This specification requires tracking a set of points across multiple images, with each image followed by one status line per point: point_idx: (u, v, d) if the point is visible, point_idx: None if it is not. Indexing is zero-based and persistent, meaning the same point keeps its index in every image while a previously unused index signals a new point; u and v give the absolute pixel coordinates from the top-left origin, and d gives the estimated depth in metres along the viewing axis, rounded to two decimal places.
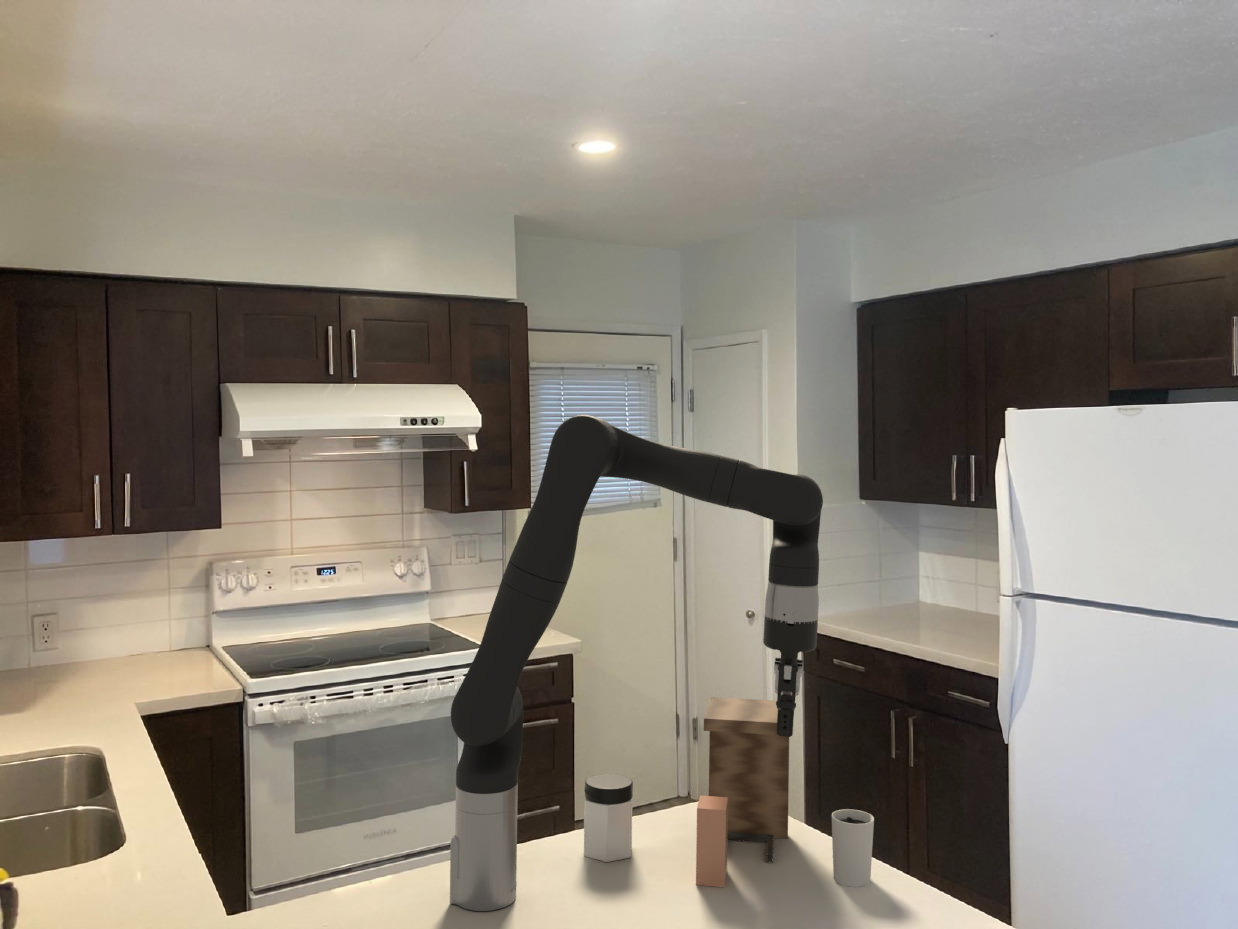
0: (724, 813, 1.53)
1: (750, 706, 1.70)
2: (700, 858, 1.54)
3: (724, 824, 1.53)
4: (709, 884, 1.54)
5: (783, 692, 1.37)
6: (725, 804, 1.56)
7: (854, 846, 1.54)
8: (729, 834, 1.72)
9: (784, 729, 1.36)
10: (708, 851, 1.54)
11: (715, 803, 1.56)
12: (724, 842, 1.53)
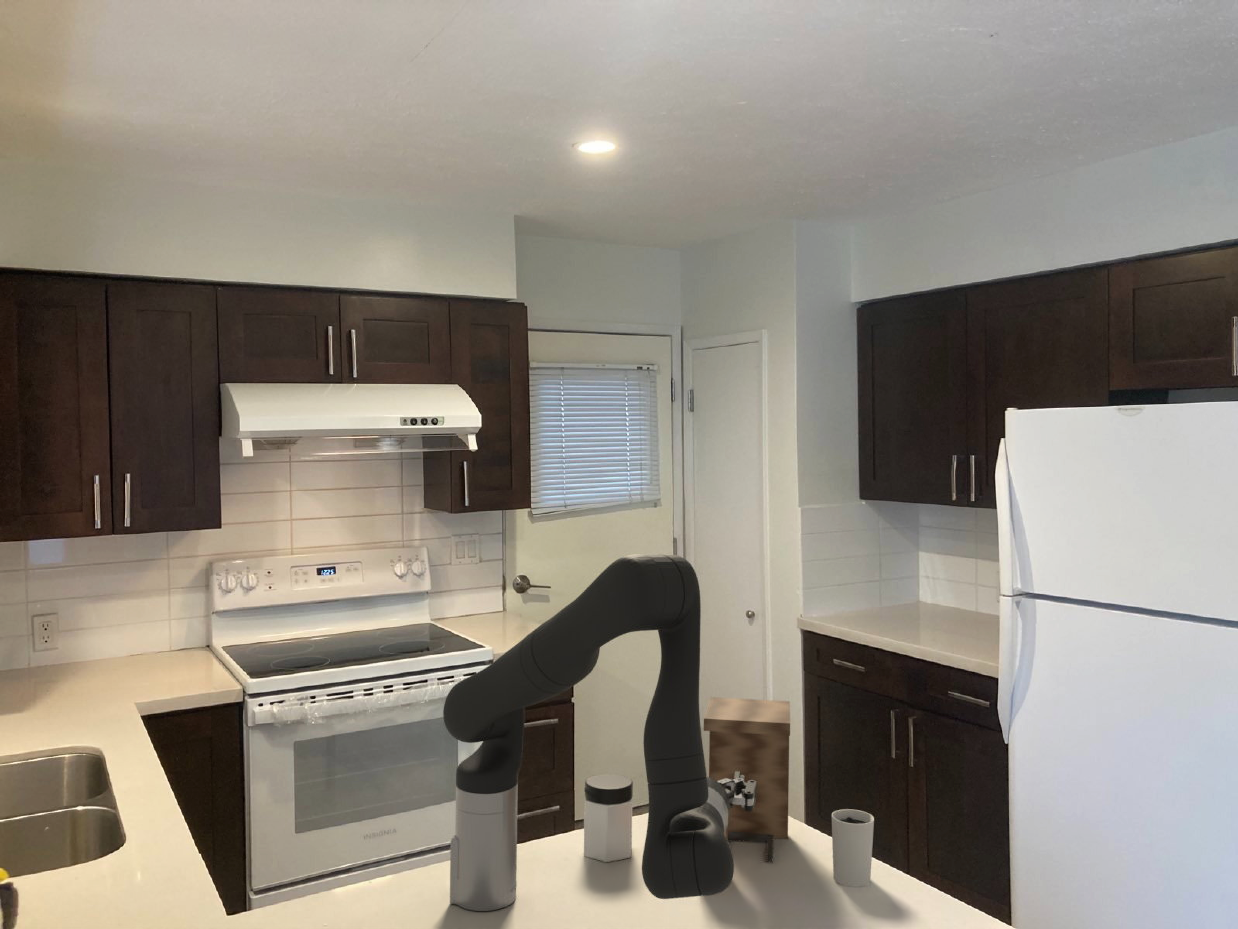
0: None
1: (750, 706, 1.70)
2: None
3: None
4: None
5: None
6: None
7: (854, 845, 1.54)
8: (729, 834, 1.72)
9: None
10: None
11: None
12: None
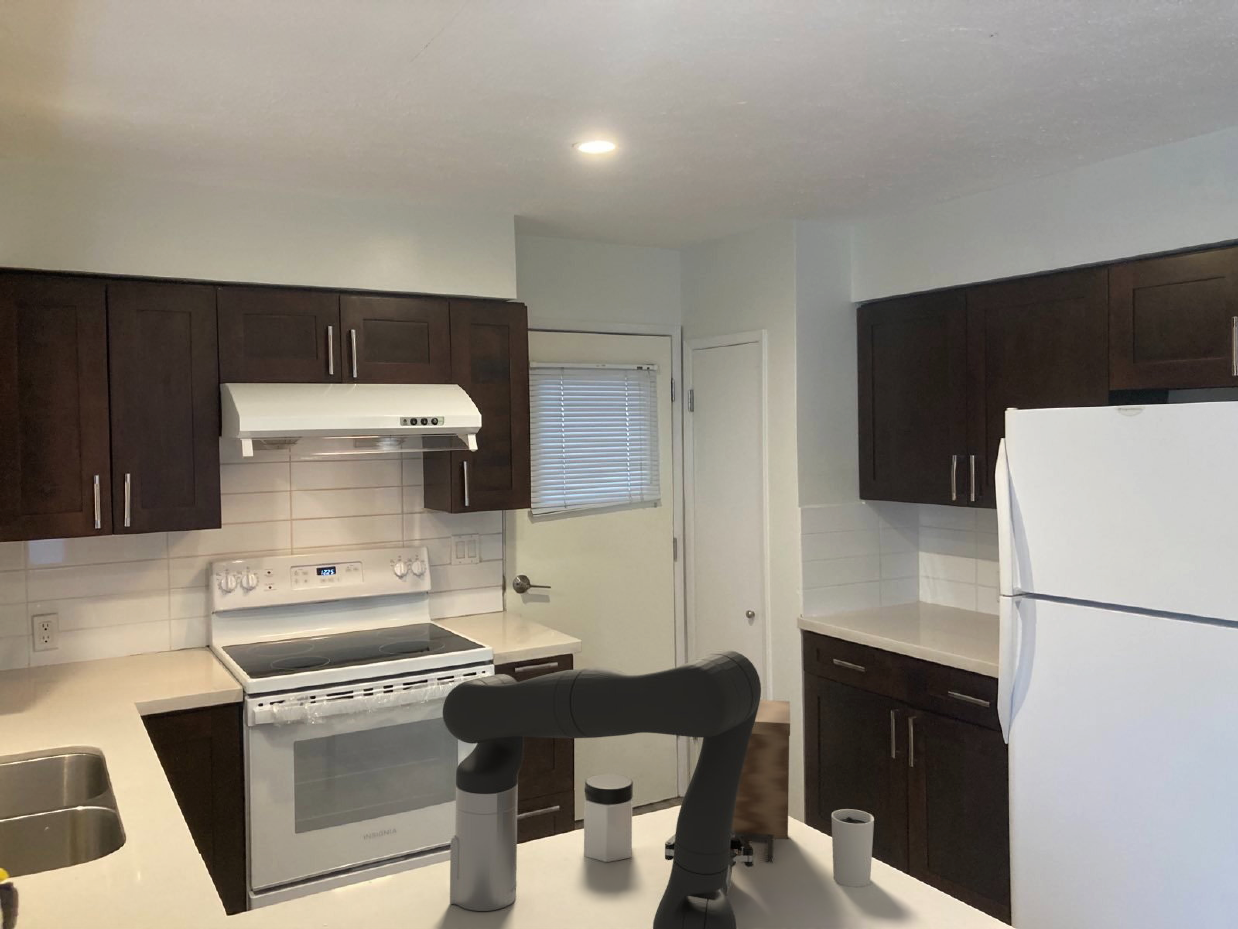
0: None
1: None
2: None
3: None
4: None
5: None
6: None
7: (854, 846, 1.54)
8: None
9: None
10: None
11: None
12: None
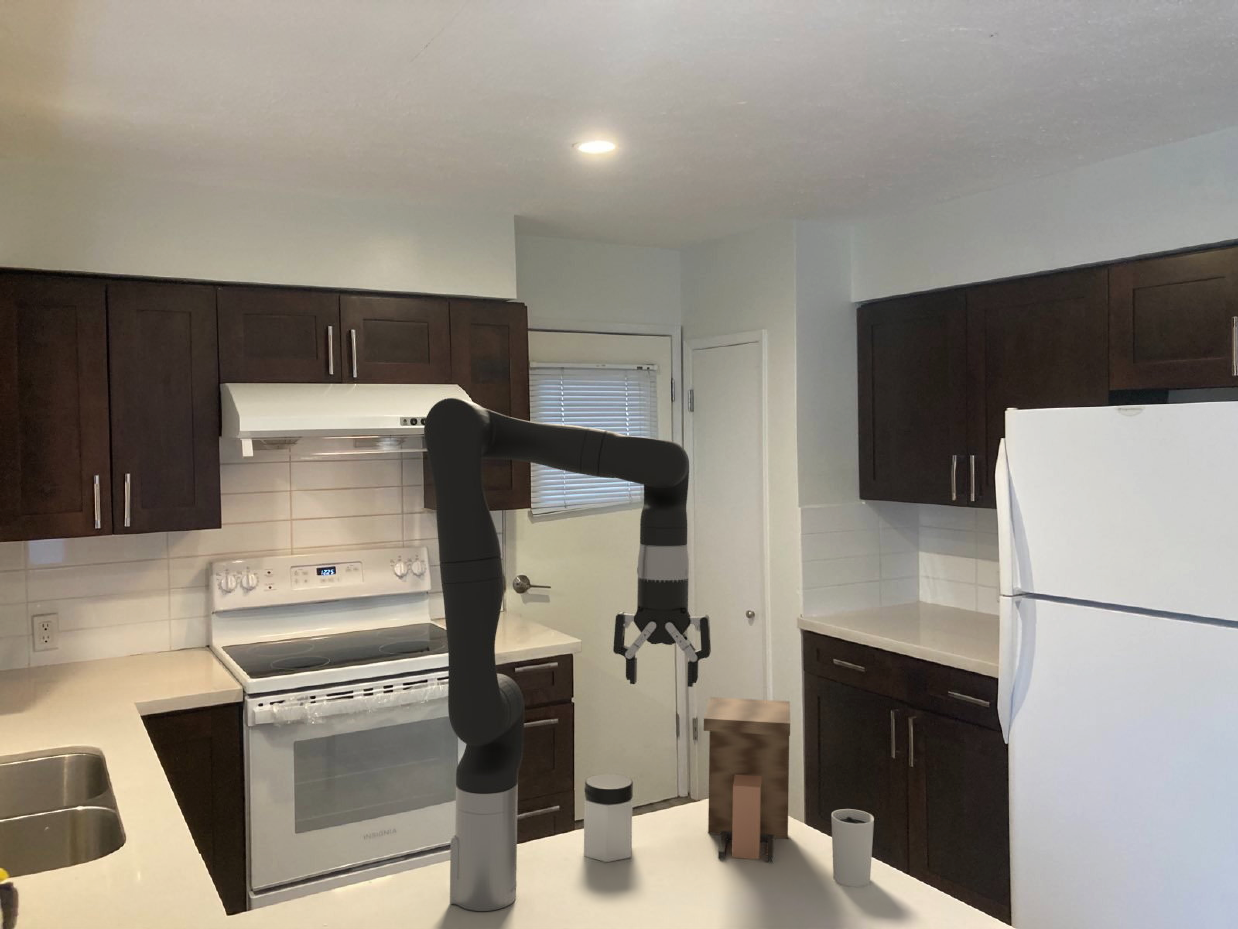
0: (758, 790, 1.64)
1: (750, 706, 1.70)
2: (736, 832, 1.65)
3: (758, 800, 1.64)
4: (744, 856, 1.65)
5: None
6: (759, 782, 1.67)
7: (854, 845, 1.54)
8: (729, 834, 1.72)
9: None
10: (744, 826, 1.65)
11: (749, 781, 1.67)
12: (758, 817, 1.64)
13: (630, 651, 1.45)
